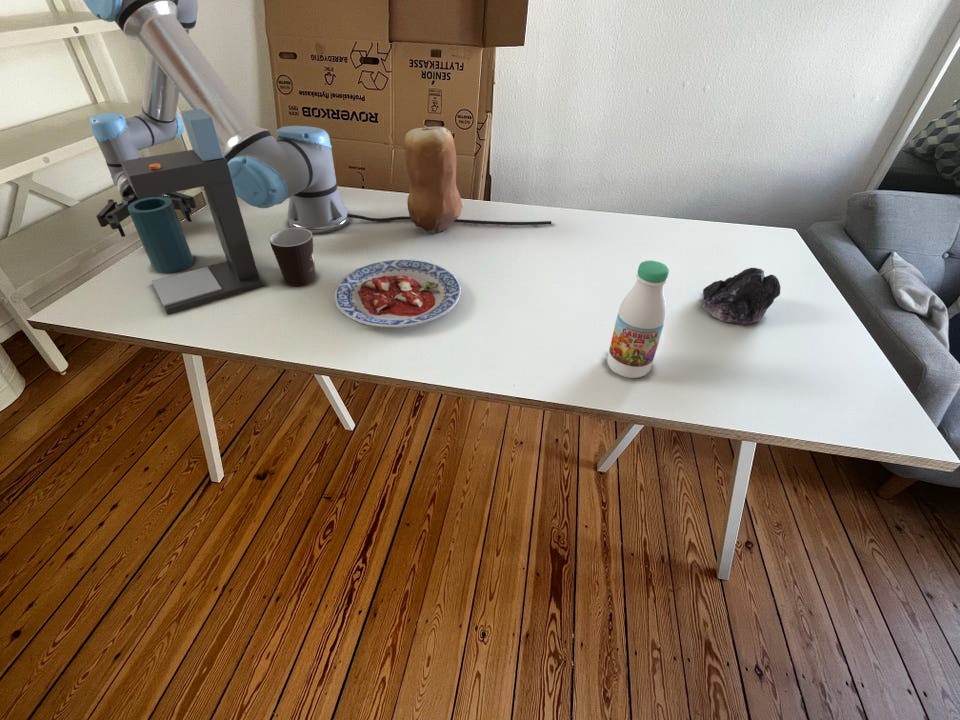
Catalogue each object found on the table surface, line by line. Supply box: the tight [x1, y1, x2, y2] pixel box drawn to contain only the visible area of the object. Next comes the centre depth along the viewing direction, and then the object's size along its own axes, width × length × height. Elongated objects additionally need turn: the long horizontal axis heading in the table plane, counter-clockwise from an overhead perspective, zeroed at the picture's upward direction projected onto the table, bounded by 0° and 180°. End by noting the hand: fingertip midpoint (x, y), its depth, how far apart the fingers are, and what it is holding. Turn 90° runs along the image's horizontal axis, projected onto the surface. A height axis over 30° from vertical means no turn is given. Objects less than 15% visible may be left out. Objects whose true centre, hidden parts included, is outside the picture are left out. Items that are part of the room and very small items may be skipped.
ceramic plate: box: [333, 259, 462, 329], centre depth 107 cm, size 26×26×3 cm
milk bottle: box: [606, 259, 670, 379], centre depth 87 cm, size 8×8×20 cm
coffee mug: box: [268, 227, 316, 288], centre depth 111 cm, size 12×9×10 cm
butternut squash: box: [403, 125, 464, 234], centre depth 126 cm, size 14×13×25 cm
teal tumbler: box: [128, 197, 194, 274], centre depth 113 cm, size 8×8×14 cm
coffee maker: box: [120, 109, 265, 315], centre depth 100 cm, size 13×19×33 cm
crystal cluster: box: [702, 267, 782, 325], centre depth 105 cm, size 13×14×10 cm
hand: (155, 223), depth 116 cm, fingers open, 13 cm apart
